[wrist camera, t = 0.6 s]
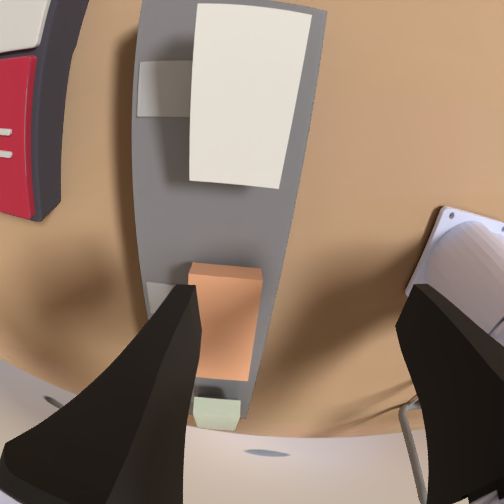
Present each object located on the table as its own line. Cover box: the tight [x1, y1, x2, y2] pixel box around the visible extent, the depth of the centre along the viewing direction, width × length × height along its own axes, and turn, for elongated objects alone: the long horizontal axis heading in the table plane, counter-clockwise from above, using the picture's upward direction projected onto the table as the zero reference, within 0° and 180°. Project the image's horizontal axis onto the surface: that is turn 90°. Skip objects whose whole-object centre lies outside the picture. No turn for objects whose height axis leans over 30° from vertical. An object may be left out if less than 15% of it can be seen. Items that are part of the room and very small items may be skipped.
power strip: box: [132, 0, 327, 419], centre depth 16 cm, size 8×43×4 cm, turn 173°
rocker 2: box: [189, 3, 312, 189], centre depth 10 cm, size 4×7×1 cm, turn 173°
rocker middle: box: [188, 262, 263, 381], centre depth 16 cm, size 4×7×1 cm, turn 173°
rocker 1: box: [193, 397, 241, 431], centre depth 23 cm, size 4×7×1 cm, turn 173°
